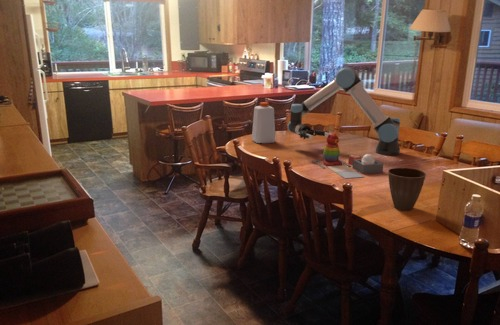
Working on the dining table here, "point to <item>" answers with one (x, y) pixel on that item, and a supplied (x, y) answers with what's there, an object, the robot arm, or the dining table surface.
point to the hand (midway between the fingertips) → (321, 137)
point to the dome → (368, 159)
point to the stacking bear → (332, 151)
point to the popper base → (367, 167)
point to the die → (353, 159)
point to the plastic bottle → (263, 124)
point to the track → (342, 170)
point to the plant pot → (405, 187)
